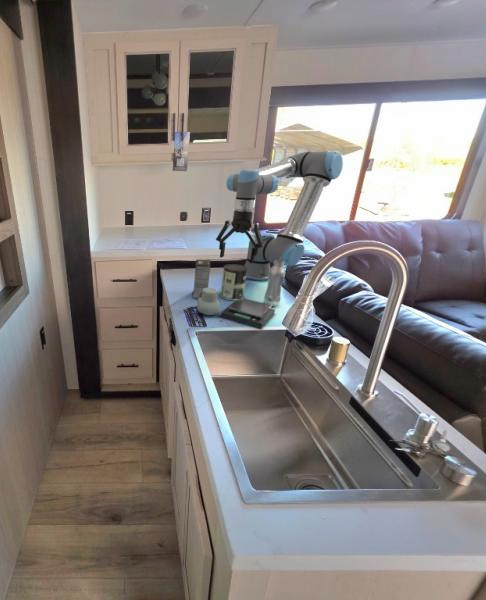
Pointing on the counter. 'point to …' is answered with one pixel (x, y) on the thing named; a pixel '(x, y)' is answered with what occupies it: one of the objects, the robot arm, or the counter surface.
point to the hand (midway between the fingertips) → (236, 259)
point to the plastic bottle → (274, 283)
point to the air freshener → (208, 302)
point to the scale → (247, 317)
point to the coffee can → (233, 281)
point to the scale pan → (250, 308)
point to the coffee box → (201, 277)
